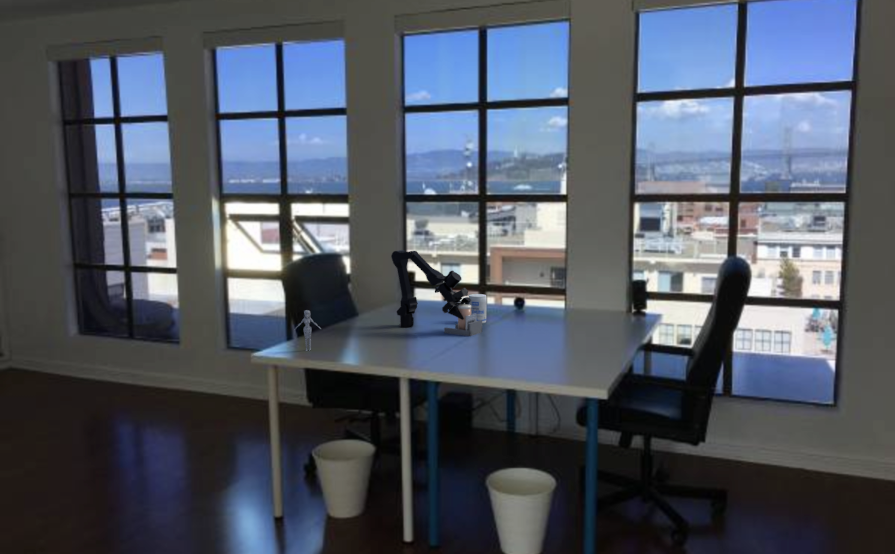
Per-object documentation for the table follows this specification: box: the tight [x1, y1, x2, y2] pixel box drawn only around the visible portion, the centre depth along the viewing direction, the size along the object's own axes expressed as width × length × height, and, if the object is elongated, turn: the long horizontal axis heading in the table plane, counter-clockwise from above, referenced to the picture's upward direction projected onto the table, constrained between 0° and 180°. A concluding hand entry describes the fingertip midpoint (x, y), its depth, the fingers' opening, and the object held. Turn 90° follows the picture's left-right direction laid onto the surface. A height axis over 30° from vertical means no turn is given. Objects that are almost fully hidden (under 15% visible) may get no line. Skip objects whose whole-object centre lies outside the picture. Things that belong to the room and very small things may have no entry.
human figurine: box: [293, 309, 322, 352], centre depth 315 cm, size 12×4×18 cm, turn 97°
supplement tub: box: [468, 293, 488, 324], centre depth 373 cm, size 10×10×15 cm
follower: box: [466, 313, 476, 330], centre depth 344 cm, size 1×8×9 cm, turn 146°
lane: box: [443, 320, 483, 337], centre depth 347 cm, size 15×11×6 cm
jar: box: [457, 304, 471, 330], centre depth 346 cm, size 7×7×13 cm
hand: (467, 318), depth 345 cm, fingers open, 7 cm apart
